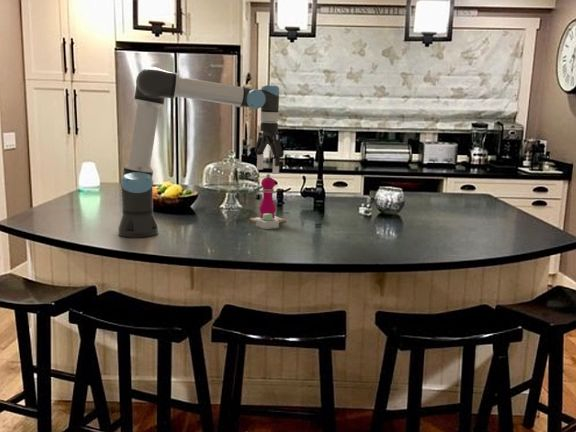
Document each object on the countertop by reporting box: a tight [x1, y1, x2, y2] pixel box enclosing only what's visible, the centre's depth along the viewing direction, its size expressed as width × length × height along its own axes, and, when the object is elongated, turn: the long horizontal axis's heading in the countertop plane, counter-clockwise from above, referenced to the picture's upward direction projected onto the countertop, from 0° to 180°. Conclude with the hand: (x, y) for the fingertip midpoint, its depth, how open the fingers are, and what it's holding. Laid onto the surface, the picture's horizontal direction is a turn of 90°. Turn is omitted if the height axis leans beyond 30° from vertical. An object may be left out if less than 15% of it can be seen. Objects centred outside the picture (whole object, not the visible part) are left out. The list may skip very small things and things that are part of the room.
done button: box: [263, 213, 272, 222], centre depth 244 cm, size 4×4×4 cm
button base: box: [255, 218, 280, 230], centre depth 245 cm, size 7×7×3 cm
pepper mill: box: [258, 173, 277, 219], centre depth 253 cm, size 7×7×20 cm
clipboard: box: [248, 215, 287, 224], centre depth 255 cm, size 13×10×1 cm
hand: (267, 171), depth 251 cm, fingers open, 13 cm apart
